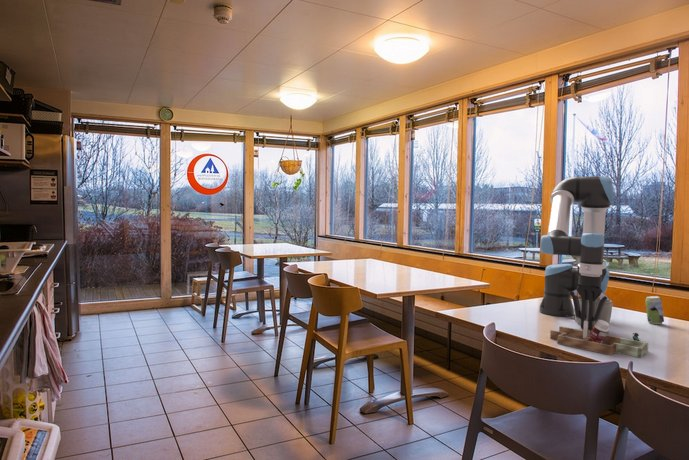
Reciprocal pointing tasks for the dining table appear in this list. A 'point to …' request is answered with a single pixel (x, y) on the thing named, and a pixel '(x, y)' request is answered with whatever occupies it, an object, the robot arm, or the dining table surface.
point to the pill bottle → (599, 331)
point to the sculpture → (635, 336)
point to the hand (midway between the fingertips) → (586, 337)
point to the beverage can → (654, 310)
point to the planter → (604, 314)
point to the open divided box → (616, 343)
